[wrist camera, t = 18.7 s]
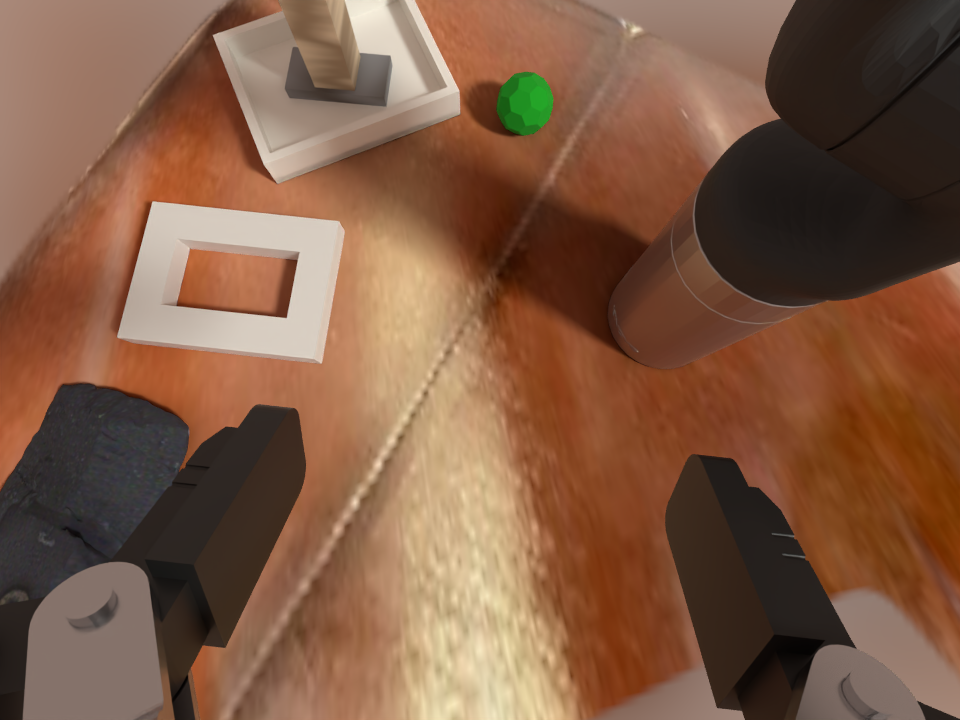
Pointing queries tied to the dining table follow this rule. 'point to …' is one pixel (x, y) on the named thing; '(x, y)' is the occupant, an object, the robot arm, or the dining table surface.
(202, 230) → the slot plate
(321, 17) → the wooden post on base
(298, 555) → the dining table surface
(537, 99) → the polyhedron
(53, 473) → the dark slate chunk
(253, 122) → the tray
